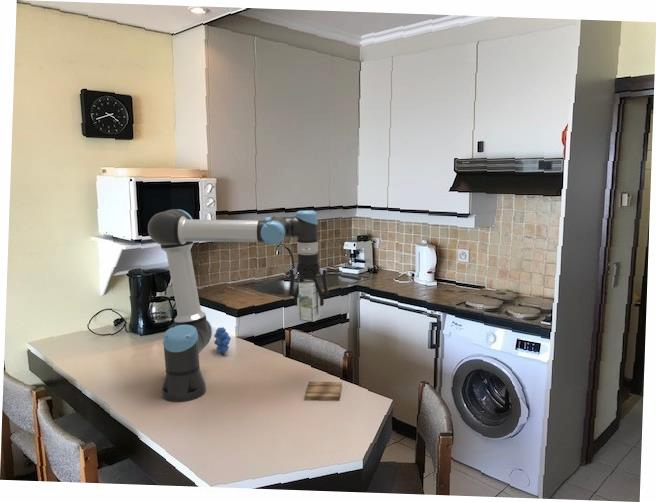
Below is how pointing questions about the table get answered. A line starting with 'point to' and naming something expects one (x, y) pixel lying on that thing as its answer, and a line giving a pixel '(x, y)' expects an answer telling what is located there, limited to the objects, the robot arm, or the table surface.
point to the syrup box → (308, 301)
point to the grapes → (222, 340)
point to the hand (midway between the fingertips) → (309, 314)
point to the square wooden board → (323, 391)
